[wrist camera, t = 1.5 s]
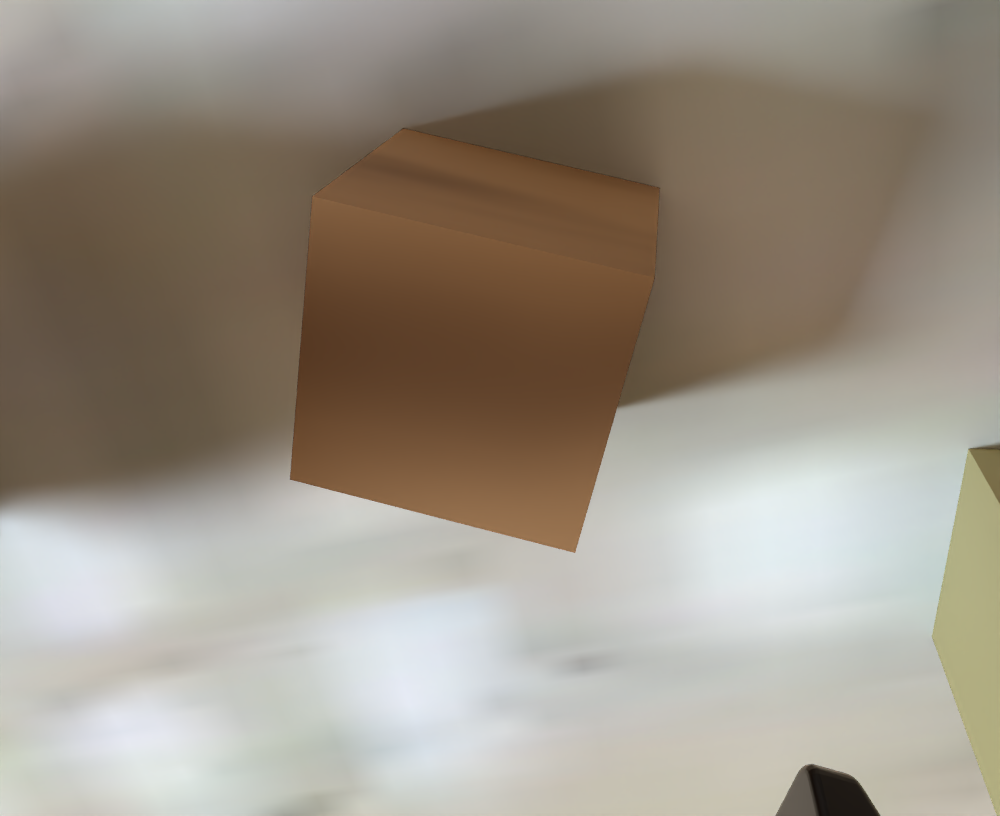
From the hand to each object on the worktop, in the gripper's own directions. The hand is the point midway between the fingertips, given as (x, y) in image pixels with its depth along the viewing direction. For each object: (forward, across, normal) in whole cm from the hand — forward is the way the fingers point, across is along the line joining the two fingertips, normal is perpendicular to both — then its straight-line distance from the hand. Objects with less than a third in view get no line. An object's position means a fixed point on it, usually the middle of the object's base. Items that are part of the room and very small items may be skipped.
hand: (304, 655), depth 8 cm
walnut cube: (+11, 0, +1) cm, 11 cm away
